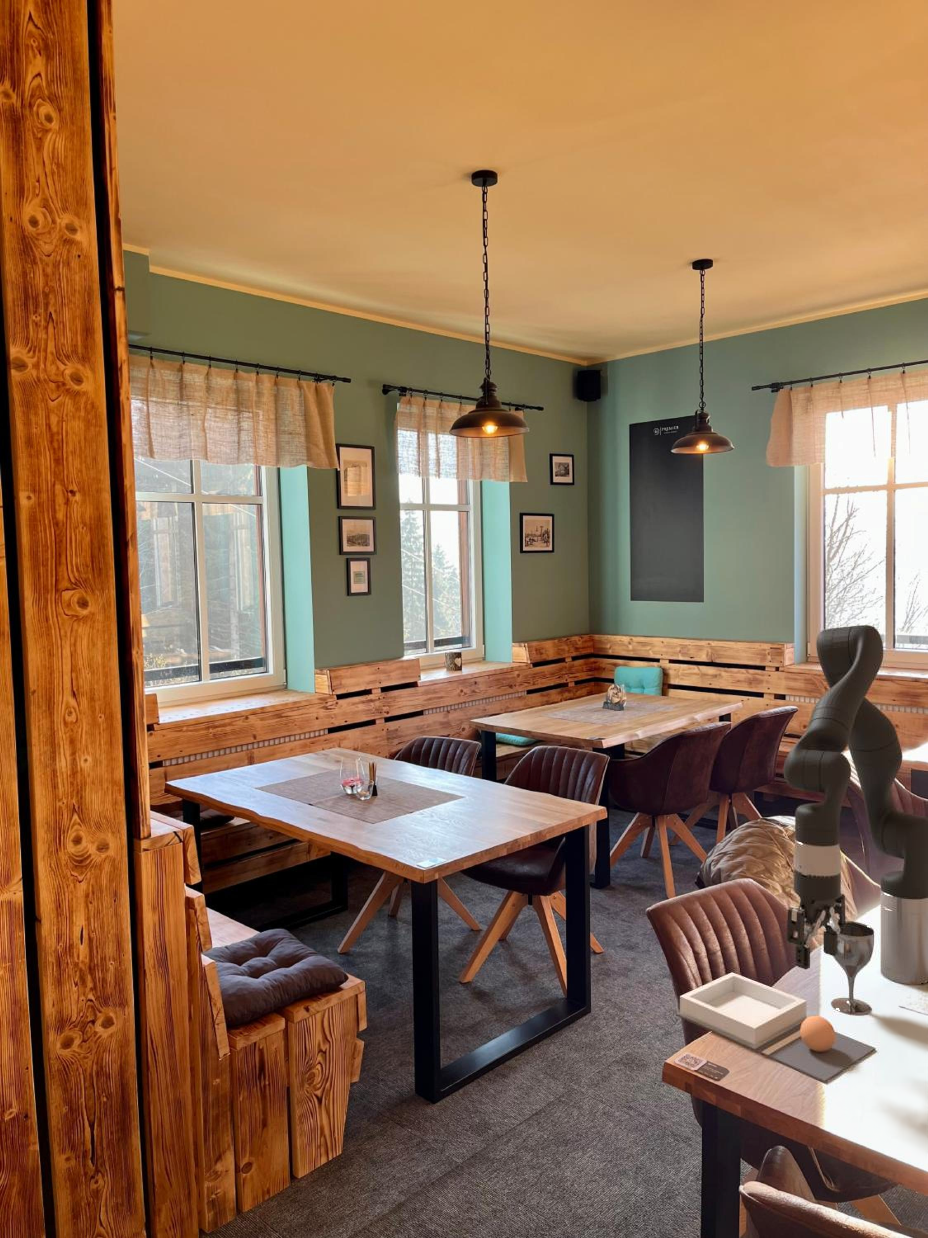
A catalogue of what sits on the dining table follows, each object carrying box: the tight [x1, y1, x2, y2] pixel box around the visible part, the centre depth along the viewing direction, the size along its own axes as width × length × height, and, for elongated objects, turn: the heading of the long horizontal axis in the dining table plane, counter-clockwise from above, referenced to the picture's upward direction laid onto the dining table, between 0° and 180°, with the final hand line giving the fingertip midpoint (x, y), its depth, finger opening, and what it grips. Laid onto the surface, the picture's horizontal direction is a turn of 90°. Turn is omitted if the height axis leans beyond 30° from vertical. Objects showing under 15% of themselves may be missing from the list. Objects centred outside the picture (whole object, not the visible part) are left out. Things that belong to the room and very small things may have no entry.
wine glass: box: [830, 920, 875, 1016], centre depth 172 cm, size 8×8×15 cm
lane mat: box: [675, 1011, 876, 1084], centre depth 163 cm, size 16×30×1 cm, turn 38°
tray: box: [679, 972, 807, 1049], centre depth 168 cm, size 16×16×4 cm
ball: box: [800, 1015, 836, 1052], centre depth 156 cm, size 6×6×6 cm
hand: (816, 961), depth 155 cm, fingers open, 8 cm apart
